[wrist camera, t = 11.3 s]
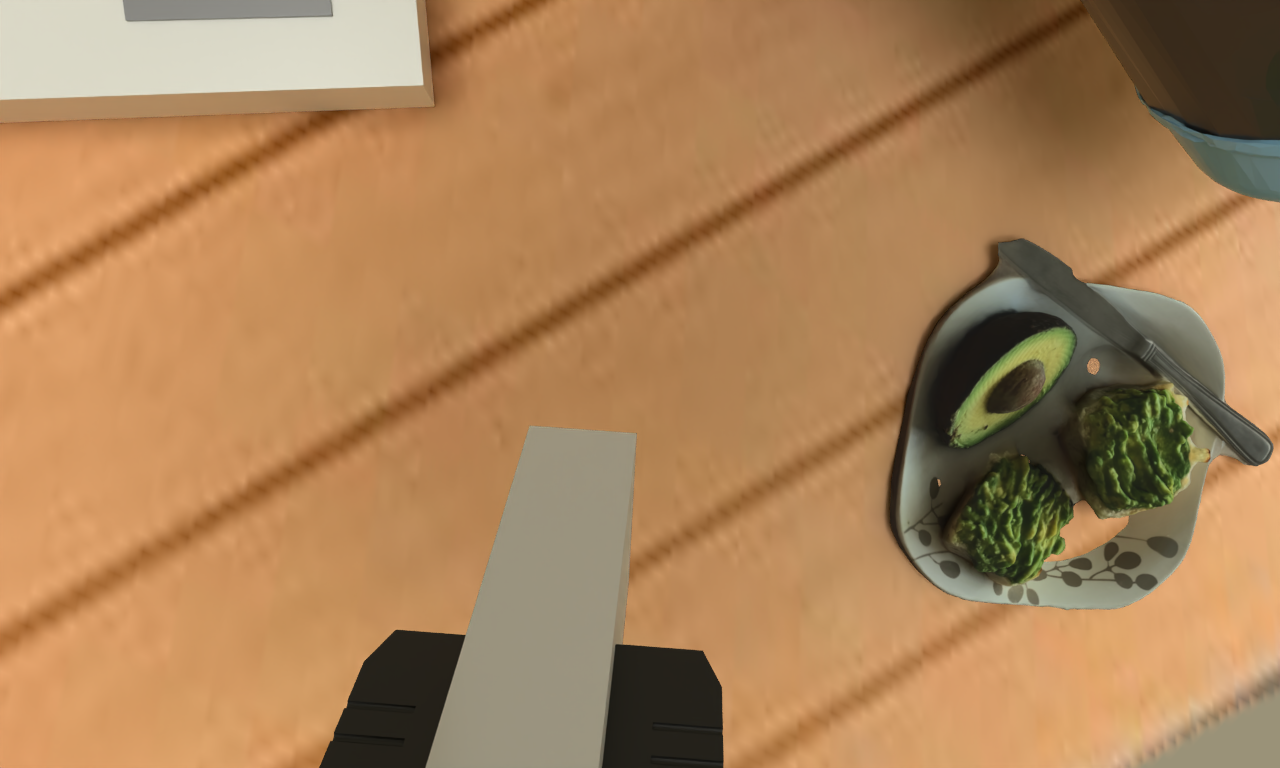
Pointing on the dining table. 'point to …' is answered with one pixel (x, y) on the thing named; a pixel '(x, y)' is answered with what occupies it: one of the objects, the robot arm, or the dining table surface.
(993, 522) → the salad plate
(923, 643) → the dining table surface
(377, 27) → the switch box
